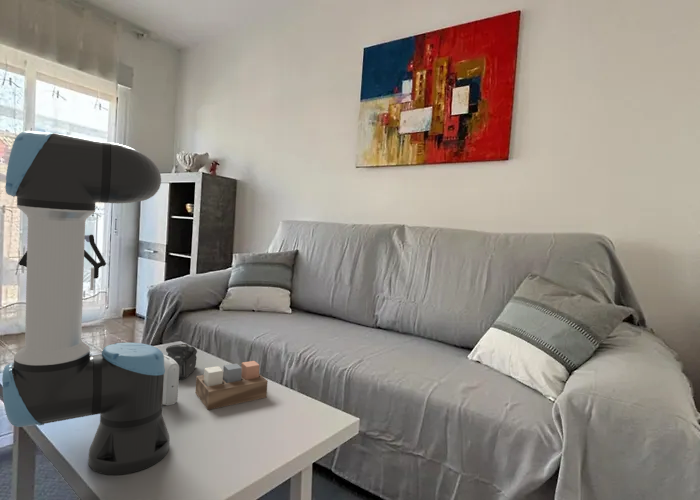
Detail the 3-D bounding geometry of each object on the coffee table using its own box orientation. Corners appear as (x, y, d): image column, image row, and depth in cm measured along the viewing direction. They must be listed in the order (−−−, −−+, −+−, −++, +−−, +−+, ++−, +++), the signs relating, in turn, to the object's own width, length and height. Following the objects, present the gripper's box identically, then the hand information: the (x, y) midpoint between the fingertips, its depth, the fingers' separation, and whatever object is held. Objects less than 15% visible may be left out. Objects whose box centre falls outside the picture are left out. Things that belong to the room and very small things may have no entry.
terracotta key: (258, 381, 119) (259, 364, 119) (245, 383, 117) (246, 366, 117) (253, 376, 123) (254, 360, 122) (240, 378, 120) (241, 362, 120)
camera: (164, 367, 134) (165, 338, 133) (195, 365, 138) (197, 336, 138) (164, 382, 122) (165, 350, 121) (198, 379, 126) (200, 348, 126)
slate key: (240, 384, 116) (241, 367, 116) (227, 386, 114) (228, 369, 113) (235, 379, 119) (236, 363, 119) (222, 381, 117) (223, 365, 117)
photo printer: (180, 402, 110) (182, 358, 109) (165, 407, 107) (167, 362, 106) (159, 391, 116) (161, 349, 115) (144, 396, 112) (146, 353, 111)
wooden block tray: (266, 397, 117) (267, 380, 117) (207, 409, 107) (208, 391, 107) (250, 382, 127) (251, 367, 126) (195, 392, 116) (196, 376, 116)
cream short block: (222, 387, 113) (223, 370, 113) (207, 390, 110) (208, 373, 110) (217, 382, 116) (218, 366, 116) (203, 385, 114) (204, 368, 113)
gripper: (115, 219, 124) (113, 286, 125) (11, 213, 110) (9, 289, 111) (117, 220, 118) (114, 290, 119) (6, 213, 104) (5, 293, 105)
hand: (63, 290), depth 115 cm, fingers open, 13 cm apart
